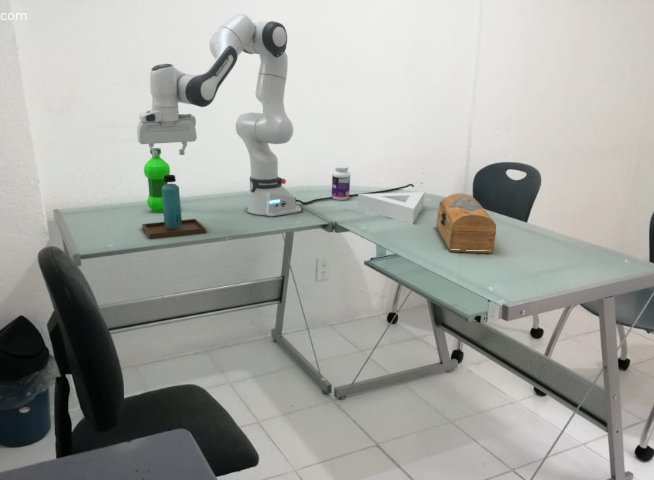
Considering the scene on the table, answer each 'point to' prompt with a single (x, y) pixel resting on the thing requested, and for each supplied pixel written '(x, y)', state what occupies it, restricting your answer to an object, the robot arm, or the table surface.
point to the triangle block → (393, 205)
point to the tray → (173, 229)
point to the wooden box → (465, 224)
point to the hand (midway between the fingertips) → (168, 155)
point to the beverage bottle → (171, 203)
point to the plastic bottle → (156, 180)
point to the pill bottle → (340, 183)
